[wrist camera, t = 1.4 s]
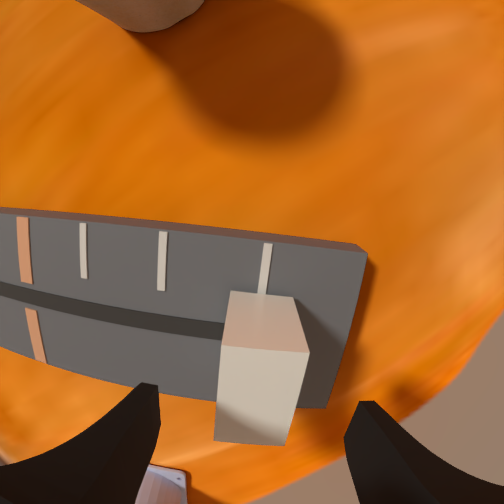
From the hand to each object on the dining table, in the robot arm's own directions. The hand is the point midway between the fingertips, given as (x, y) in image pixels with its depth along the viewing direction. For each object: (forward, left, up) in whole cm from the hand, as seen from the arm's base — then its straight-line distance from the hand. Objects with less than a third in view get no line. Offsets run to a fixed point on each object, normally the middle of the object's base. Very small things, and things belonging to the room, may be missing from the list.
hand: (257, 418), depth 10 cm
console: (0, +8, -8) cm, 12 cm away
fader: (0, 0, -6) cm, 6 cm away
